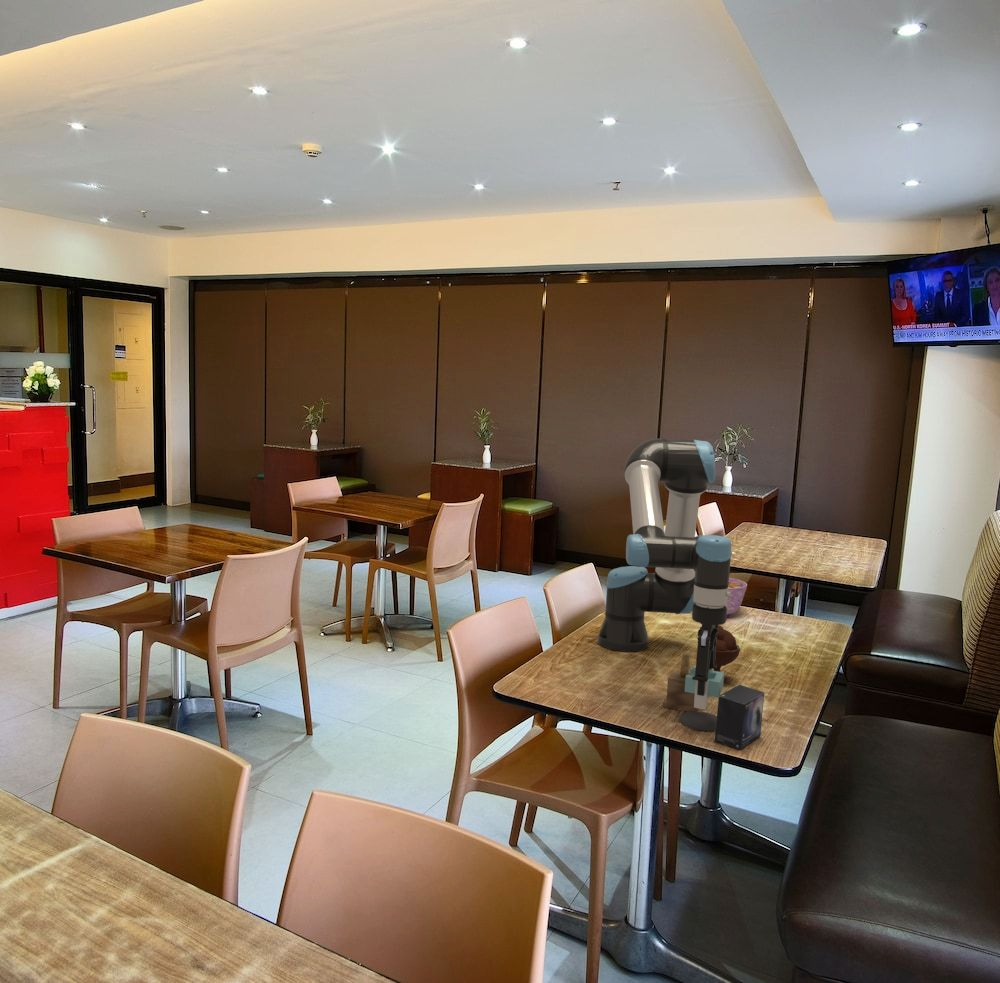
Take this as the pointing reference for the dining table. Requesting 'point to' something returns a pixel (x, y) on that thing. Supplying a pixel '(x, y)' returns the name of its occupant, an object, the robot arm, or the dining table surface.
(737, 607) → the bowl of food
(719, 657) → the ice cream bowl
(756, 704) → the small box
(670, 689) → the stand
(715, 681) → the c link
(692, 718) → the coaster
